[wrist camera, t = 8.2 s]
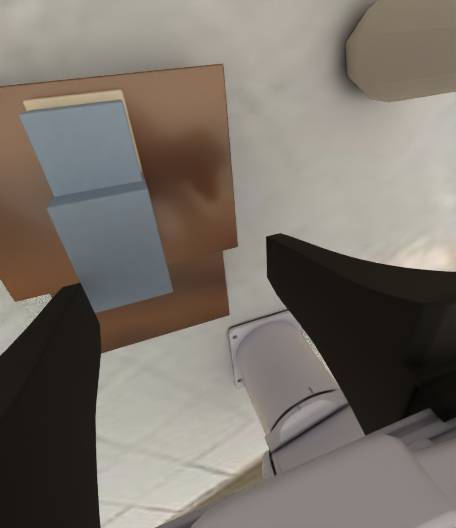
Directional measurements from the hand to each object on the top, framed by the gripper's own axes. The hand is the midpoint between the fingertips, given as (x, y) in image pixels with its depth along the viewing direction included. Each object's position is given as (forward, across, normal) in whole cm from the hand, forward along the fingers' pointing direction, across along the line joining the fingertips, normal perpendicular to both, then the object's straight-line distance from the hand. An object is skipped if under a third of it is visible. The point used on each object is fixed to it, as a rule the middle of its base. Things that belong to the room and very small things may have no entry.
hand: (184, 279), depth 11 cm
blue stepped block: (+5, +2, -2) cm, 6 cm away
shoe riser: (+10, +2, +2) cm, 11 cm away
